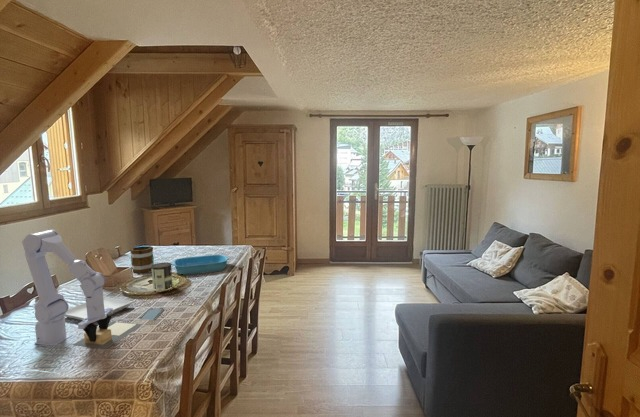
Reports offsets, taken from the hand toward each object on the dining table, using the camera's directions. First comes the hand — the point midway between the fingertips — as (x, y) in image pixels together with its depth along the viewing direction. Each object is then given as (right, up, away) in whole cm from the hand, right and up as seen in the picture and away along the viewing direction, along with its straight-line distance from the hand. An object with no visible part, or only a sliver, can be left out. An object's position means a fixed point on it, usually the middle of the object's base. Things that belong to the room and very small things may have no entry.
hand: (98, 337), depth 134 cm
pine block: (0, -1, 0) cm, 1 cm away
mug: (-31, +10, +93) cm, 99 cm away
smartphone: (+9, +1, +23) cm, 25 cm away
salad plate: (-18, +1, +27) cm, 32 cm away
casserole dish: (+9, +10, +92) cm, 93 cm away
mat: (+1, -1, +6) cm, 6 cm away
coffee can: (-1, +5, +57) cm, 57 cm away
